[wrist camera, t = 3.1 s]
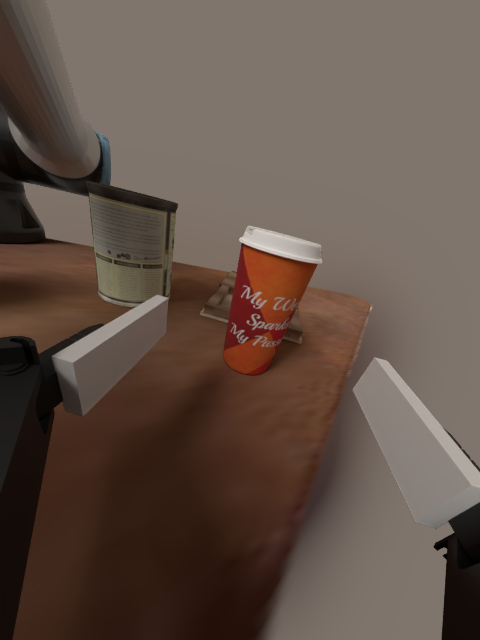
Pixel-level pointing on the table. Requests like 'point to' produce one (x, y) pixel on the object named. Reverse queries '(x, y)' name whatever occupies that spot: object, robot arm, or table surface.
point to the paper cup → (266, 296)
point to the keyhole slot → (221, 306)
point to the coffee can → (131, 244)
